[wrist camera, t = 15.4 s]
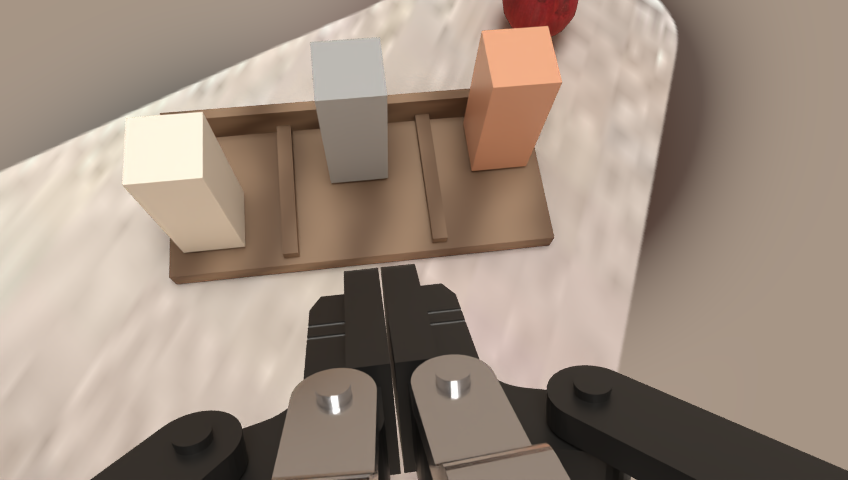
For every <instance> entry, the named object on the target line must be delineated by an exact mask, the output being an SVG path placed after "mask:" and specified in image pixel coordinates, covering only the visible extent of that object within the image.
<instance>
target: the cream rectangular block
mask: <svg viewBox="0 0 848 480" xmlns="http://www.w3.org/2000/svg"><path fill="white" fill-rule="evenodd" d="M122 185H123V186H124V188H125V189H126V190H127V191H128V192H129V193H130V194H131V195H132V196H133V197H134V199H135V200H136V201H137V202H138V203H139V204H140V205H141V206H142V207H143V208H144V210H145V211H146V212H147V213H148V214H149V215H150V216H151V217H152V218H153V220H154V221H155V222H156V223H157V224H158V225H159V226H160V227H161V228H162V229H163V231H164V232H165V233H166V234H167V235H168V236H169V237H170V238H171V239H172V240H173V242H174V243H175V244H176V245H177V246H178V247H179V248H180V249H181V250H182V251H183V253H187V252H197V251H207V250H217V249H227V248H237V247H245V214H244V192H243V190H242V188H241V186H240V184H239V182H238V180H237V178H236V176H235V174H234V172H233V170H232V168H231V166H230V165H229V163H228V161H227V159H226V157H225V155H224V153H223V151H222V149H221V147H220V145H219V143H218V141H217V139H216V137H215V135H214V133H213V131H212V129H211V127H210V125H209V123H208V121H207V119H206V117H205V115H204V113H203V112H194V113H182V114H169V115H157V116H144V117H131V118H126V123H125V142H124V161H123V180H122Z"/></svg>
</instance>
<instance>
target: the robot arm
mask: <svg viewBox="0 0 848 480" xmlns="http://www.w3.org/2000/svg"><path fill="white" fill-rule="evenodd" d="M381 277H382V287H383V298H384V309H385V318H384V310H383V302H382V295H381V287H380V280H379V272H378V268H371V269H362V270H352V271H344V294H342V295H333V296H324V297H320V299H319V300H318V301H317V302H316V303H315V305H314V306H313V307H312V308H311V310H310V312H309V324H308V326H309V328H308V335H307V339H308V340H307V347H306V358H305V370H304V380H303V381H302V382H300V383H299V384H298V385H297V386H296V387H295V389H294V390H293V392H292V394H291V397H290V402H289V406H288V409H286V410H285V411H283V412H282V413H280V414H279V415H277V416H275V417H273V418H271V419H268V420H266V421H263V422H260V423H258V424H255V425H252V426H249V427H246V428H243V429H242V427H241V424H240V422H239V420H238V419H237V418H235V417H234V416H233V415H231V414H229V413H226V412H222V411H201V412H196V413H192V414H188V415H185V416H183V417H180V418H178V419H176V420H174V421H172V422H170V423H168V424H167V425H165V426H164V427H162V428H161V429H160V430H158V431H157V432H155V433H154V434H153V435H151V436H150V437H149V438H147V439H146V440H144V441H143V442H142V443H140V444H139V445H138V446H136V447H135V448H133V449H132V450H131V451H129V452H128V453H126V454H125V455H124V456H122V457H121V458H120V459H118V460H117V461H115V462H114V463H113V464H111V465H110V466H109V467H107V468H106V469H104V470H103V471H102V472H100V473H99V474H98V475H96V476H95V477H93V478H92V479H91V480H390V475H395V474H401V471H400V460H399V449H398V438H397V427H396V417H395V406H394V396H395V404H396V412H397V419H398V427H399V434H400V442H401V450H402V457H403V465H404V473H408V472H415V471H417V476H418V480H631V477H633V478H635V479H636V480H848V471H847V470H844V469H842V468H840V467H837V466H835V465H833V464H830V463H828V462H825V461H823V460H821V459H819V458H816V457H814V456H811V455H809V454H807V453H805V452H802V451H800V450H798V449H795V448H793V447H790V446H788V445H786V444H783V443H781V442H779V441H777V440H774V439H772V438H769V437H767V436H765V435H762V434H760V433H757V432H755V431H753V430H751V429H748V428H746V427H744V426H741V425H739V424H737V423H734V422H732V421H730V420H727V419H725V418H722V417H720V416H718V415H716V414H713V413H711V412H709V411H706V410H704V409H702V408H699V407H697V406H695V405H692V404H690V403H688V402H685V401H683V400H680V399H678V398H676V397H673V396H671V395H669V394H666V393H664V392H662V391H659V390H657V389H655V388H652V387H650V386H648V385H645V384H643V383H641V382H638V381H636V380H633V379H631V378H629V377H627V376H624V375H622V374H619V373H617V372H615V371H612V370H610V369H607V368H603V367H598V366H588V365H582V366H573V367H569V368H565V369H563V370H560V371H559V372H557V373H556V374H554V375H553V376H552V377H551V378H550V380H549V382H548V385H547V390H542V389H532V388H523V387H516V386H512V385H509V384H506V383H503V382H501V381H499V380H498V379H497V377H496V375H495V374H494V372H493V370H492V369H491V367H489V366H488V365H487V364H486V363H485V362H483V361H481V360H479V357H478V354H477V352H476V349H475V346H474V343H473V341H472V338H471V335H470V332H469V330H468V327H467V324H466V322H465V319H464V316H463V313H462V311H461V308H460V305H459V302H458V299H457V297H456V294H455V293H453V292H452V291H451V290H449V289H448V288H447V287H445V286H444V285H443V284H433V285H424V286H420V282H419V279H418V275H417V271H416V267H415V264H408V265H399V266H389V267H381ZM385 320H386V325H385ZM386 330H387V333H386ZM392 381H393V384H392ZM393 389H394V395H393Z"/></svg>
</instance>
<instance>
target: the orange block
mask: <svg viewBox="0 0 848 480" xmlns="http://www.w3.org/2000/svg"><path fill="white" fill-rule="evenodd" d="M561 84H562V80H561V76H560V72H559V68H558V64H557V60H556V56H555V52H554V48H553V44H552V40H551V36H550V32H549V28H548V26H542V27H528V28H514V29H500V30H485V31H482V33H481V38H480V43H479V47H478V52H477V57H476V62H475V67H474V72H473V77H472V82H471V87H470V92H469V97H468V102H467V107H466V112H465V117H464V121H463V125H464V131H465V136H466V142H467V148H468V153H469V159H470V165H471V171H478V170H489V169H500V168H511V167H521V166H526V165H527V163H528V161H529V158H530V156H531V154H532V151H533V149H534V147H535V144H536V142H537V140H538V137H539V135H540V133H541V130H542V128H543V126H544V123H545V121H546V119H547V116H548V114H549V112H550V109H551V107H552V105H553V102H554V100H555V98H556V95H557V93H558V91H559V88H560V86H561Z"/></svg>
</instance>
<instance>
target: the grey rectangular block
mask: <svg viewBox="0 0 848 480" xmlns="http://www.w3.org/2000/svg"><path fill="white" fill-rule="evenodd" d="M310 47H311V60H312V73H313V86H314V99H315V105H316V110H317V115H318V120H319V125H320V130H321V135H322V140H323V145H324V150H325V155H326V160H327V165H328V170H329V175H330V180H331V183H340V182H351V181H362V180H373V179H384V178H388V123H387V89H386V82H385V74H384V66H383V58H382V50H381V42H380V37H376V38H361V39H347V40H333V41H319V42H310Z"/></svg>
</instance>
